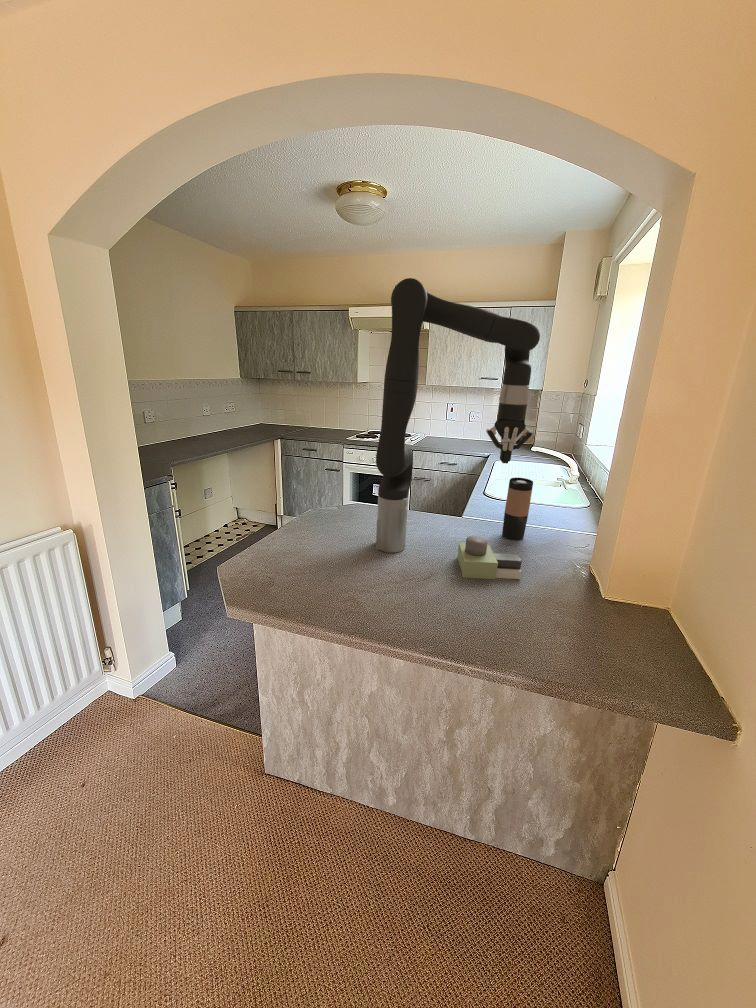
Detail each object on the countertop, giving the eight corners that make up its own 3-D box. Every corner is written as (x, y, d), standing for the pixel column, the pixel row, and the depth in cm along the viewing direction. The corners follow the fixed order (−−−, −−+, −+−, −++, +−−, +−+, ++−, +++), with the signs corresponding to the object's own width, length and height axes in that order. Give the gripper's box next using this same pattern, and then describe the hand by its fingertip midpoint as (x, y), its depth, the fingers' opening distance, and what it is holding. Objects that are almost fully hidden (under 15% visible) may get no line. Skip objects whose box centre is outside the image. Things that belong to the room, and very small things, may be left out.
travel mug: (521, 532, 145) (530, 478, 138) (526, 541, 137) (536, 484, 131) (499, 530, 145) (507, 476, 138) (503, 539, 138) (512, 483, 131)
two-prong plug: (462, 577, 113) (466, 549, 110) (457, 557, 124) (460, 531, 121) (521, 580, 112) (526, 552, 110) (510, 560, 124) (514, 534, 121)
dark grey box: (493, 575, 115) (496, 559, 113) (490, 568, 119) (493, 553, 117) (518, 576, 115) (521, 561, 113) (515, 569, 118) (517, 554, 117)
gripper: (492, 402, 110) (484, 464, 116) (541, 404, 109) (531, 467, 115) (486, 399, 117) (479, 458, 123) (533, 401, 116) (524, 460, 122)
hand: (504, 462), depth 119 cm, fingers closed
